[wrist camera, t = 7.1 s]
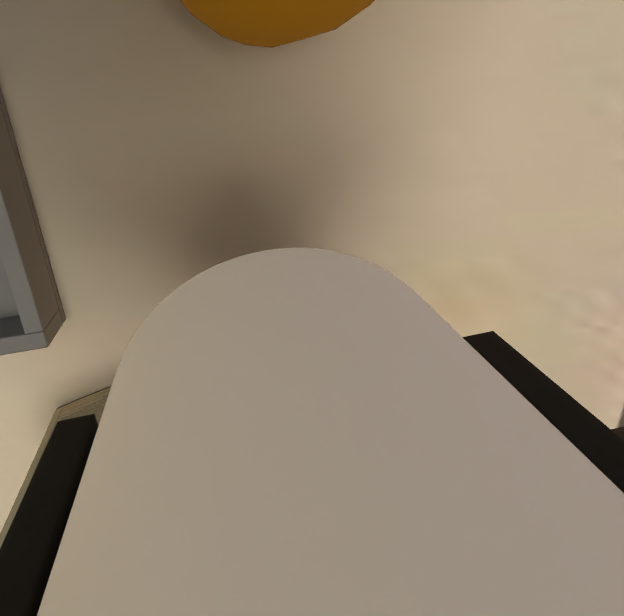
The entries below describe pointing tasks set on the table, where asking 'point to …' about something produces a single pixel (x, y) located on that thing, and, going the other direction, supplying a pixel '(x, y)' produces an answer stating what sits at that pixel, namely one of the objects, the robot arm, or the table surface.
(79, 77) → the table surface
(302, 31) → the apple
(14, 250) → the tray
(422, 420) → the beverage can
